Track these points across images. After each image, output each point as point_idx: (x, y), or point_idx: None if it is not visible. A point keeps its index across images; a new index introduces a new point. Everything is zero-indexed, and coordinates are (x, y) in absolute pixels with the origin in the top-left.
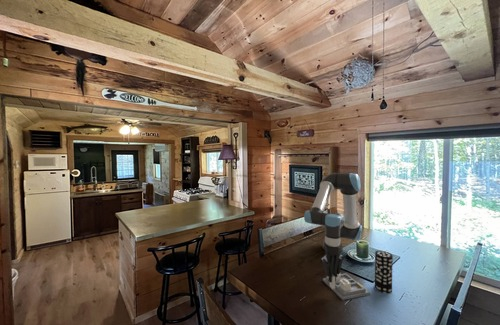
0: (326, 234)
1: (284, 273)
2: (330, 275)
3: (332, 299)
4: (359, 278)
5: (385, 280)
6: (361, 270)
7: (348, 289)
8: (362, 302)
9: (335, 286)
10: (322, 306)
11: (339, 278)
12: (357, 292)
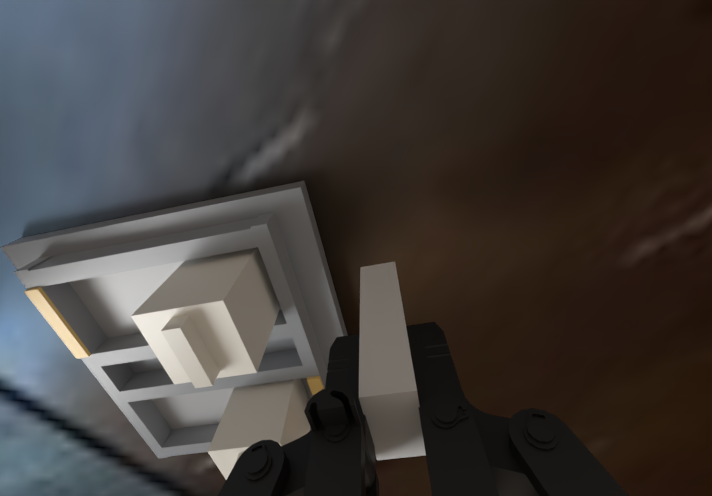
0: None
1: None
2: (475, 424)
3: (399, 197)
4: (73, 409)
5: None
6: (42, 472)
7: (198, 270)
8: (114, 133)
9: (309, 332)
10: (558, 100)
11: (237, 408)
12: (120, 246)
